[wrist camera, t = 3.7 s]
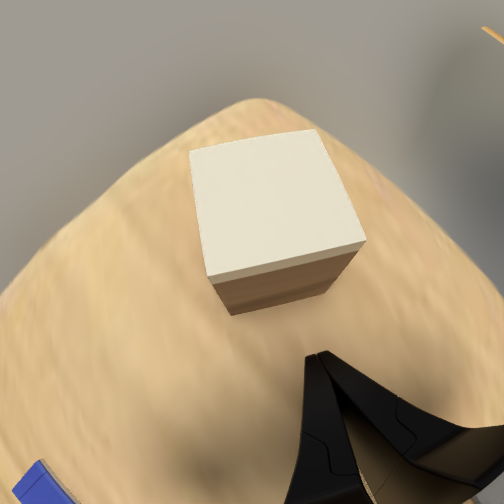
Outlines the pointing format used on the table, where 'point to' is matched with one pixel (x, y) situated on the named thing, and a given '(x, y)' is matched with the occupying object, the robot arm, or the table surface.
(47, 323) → the table surface
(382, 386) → the robot arm
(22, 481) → the hard drive
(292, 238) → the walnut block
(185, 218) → the table surface
